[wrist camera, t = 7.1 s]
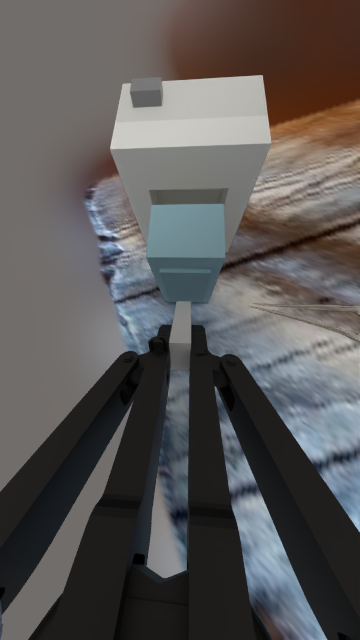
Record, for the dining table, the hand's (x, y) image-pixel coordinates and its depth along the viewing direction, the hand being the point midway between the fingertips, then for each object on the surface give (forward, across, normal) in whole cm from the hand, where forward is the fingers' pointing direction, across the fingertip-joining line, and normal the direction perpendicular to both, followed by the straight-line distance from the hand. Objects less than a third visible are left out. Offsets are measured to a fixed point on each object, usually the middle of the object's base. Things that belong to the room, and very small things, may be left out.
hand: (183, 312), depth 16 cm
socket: (+14, 0, +7) cm, 15 cm away
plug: (+8, 0, +1) cm, 8 cm away
